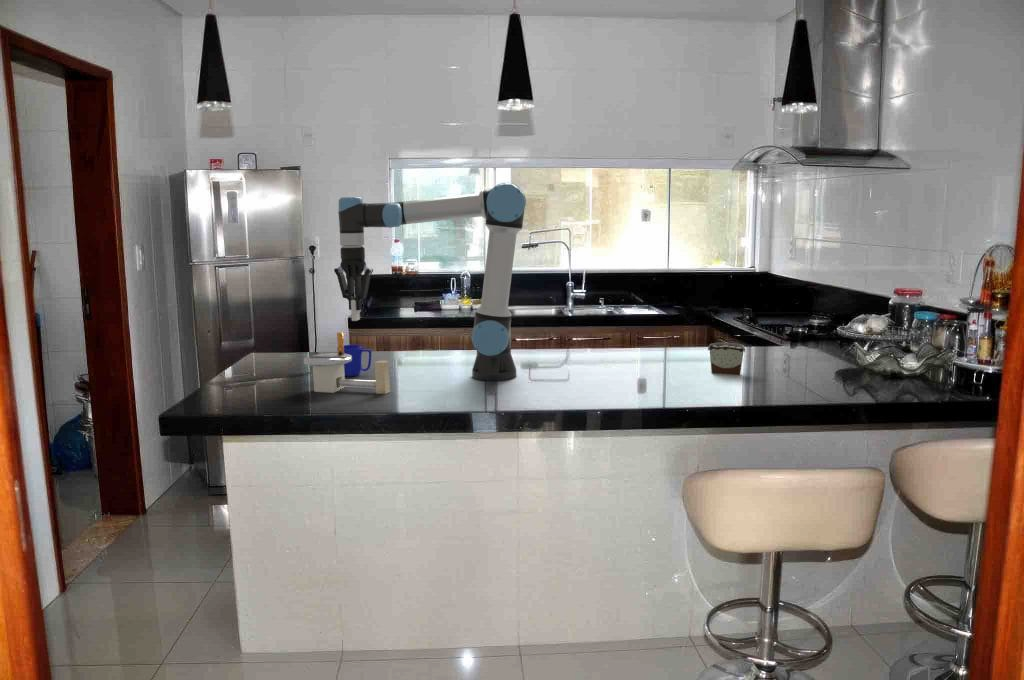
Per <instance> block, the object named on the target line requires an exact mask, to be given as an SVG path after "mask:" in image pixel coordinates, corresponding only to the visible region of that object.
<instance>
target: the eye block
mask: <svg viewBox="0 0 1024 680" xmlns="http://www.w3.org/2000/svg"><path fill="white" fill-rule="evenodd" d="M312 374H313V392H315V393H316V392H317V393H331V394H333V393H336V392H339V391H341V390H342V388H343V389H345V388H344V386H337V384H336V379H346V376H345V373H344V364H341V365H333V366H312ZM340 389H341V390H340Z"/></svg>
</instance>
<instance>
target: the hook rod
mask: <svg viewBox="0 0 1024 680" xmlns="http://www.w3.org/2000/svg"><path fill="white" fill-rule="evenodd" d="M389 363H390V362H389V360H377V361H375V362H374V372H375V374H374V375H375V377H374V378H375V380H369V379H367V380H366V379H353V378H352V379H351V378H350V379H349V378H345V379H336V384H337V386H344V387H345V388H346V387H348V388H364V389H365V388H366V389H375V392H376V393H375V394H379V395H386V394H388V393H390V392H391V384H390V381H391V380H390V365H389Z"/></svg>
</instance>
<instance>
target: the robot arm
mask: <svg viewBox="0 0 1024 680" xmlns="http://www.w3.org/2000/svg"><path fill="white" fill-rule="evenodd" d="M526 201H527V199H526V196H525V193H524V192H523V190H522V189H521V188H520V187H519V186H518V185H517V184H514V183H511V182H500V183H499V184H496V185H494V186H493V187H492V188H486V189H481V191H479V192H478V193H469V194H459V195H451V196H450V195H449V196H441V197H432V198H431V197H430V198H423V199H414V200H406V201H396V202H377V203H376V202H375V203H365V202H364V201H363V198H362V197H360V196H353V197H352V196H350V197H347V196H346V197H345V196H343V197H340V198H339V199H338V211H337V213H338V223H339V224H338V225H339V226H338V227H339V245H340V258H341V259H340V260H341V262H340V264H339V266H338V267H336V268H334V269H333V271H334V273H335V274H336V276H337V281H338V283H339V289H340V291H341V292H340V293H341V295H342V298H343V299H346V300H348V309H349V311H350V313H351V321H352V322H357V321H359V320H361V314H360V313H361V310H362V300H363V299H366V298H367V297H368V292H369V286H370V281H371V275H372V274H373V272H374V269H373V268H370V267H369V266H367V263H366V253H365V252H366V250H365V247H364V246H365V233H364V232H365V228H389V229H391V228H399V227H400V226H401V225H405V226H406V225H411V224H420V223H421V224H422V223H430V222H431V223H432V222H440V221H441V222H442V221H451V220H459V219H460V220H461V219H470V218H480V217H482V218H483V219H484V220H485V223H484V224H485V225H484V226H485V227H487V229H488V231H489V232H488V241H487V250H486V259H485V266H484V267H485V268H484V277H483V285H482V292H481V293H482V294H481V302H480V306H479V307H478V308H476V310H475V313H474V314H475V315H474V322H473V328H472V331H471V334H470V335H471V337H470V338H471V343H472V345H473V347H474V349H475V350H476V354H475V355H476V357H475V360H474V361H473V362H474V363H473V365H472V366H473V367H472V373H471V376H472V378H473V379H476V380H479V381H490V382H491V381H494V382H495V381H505V380H509V379H510V380H511V379H513V378H515V377H517V367H516V364H515V362H514V359H513V356H512V345H511V344H512V343H511V342H512V341H511V335H512V334H511V323H512V315H513V314H512V313H511V311H510V310H509V299H510V291H511V284H512V278H513V277H512V275H513V267H514V258H515V253H516V252H515V250H516V243H517V242H516V241H517V234H518V233H519V232H520V231H522V230H523V226H524V225H523V224H524V215H525V210H526V206H527V205H526V203H527V202H526ZM362 274H363V277H362Z"/></svg>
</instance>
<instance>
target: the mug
mask: <svg viewBox="0 0 1024 680" xmlns="http://www.w3.org/2000/svg"><path fill="white" fill-rule="evenodd" d="M336 349H337V352H338V346H337V348H336ZM363 352H368V364H367V367H366V368H363V367H362V354H363ZM344 354H349V355H351V356H352V361H351V362H349V363H345V364H344V373H345V377H355V376H359V375H360V374H361V371H362V372H366V371H368V370H369V369H370V367H371V365H372V350H371V349H368V348H362V346H361V345H360V344H344Z"/></svg>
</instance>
